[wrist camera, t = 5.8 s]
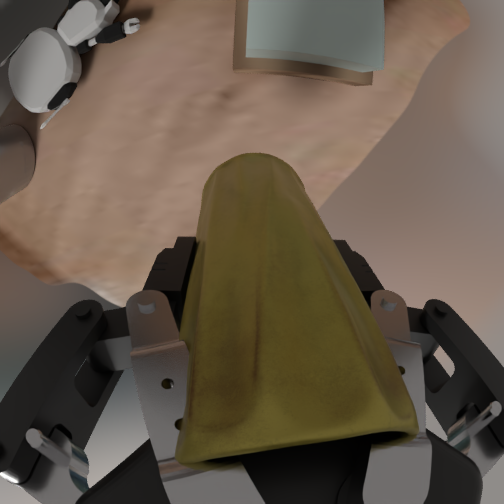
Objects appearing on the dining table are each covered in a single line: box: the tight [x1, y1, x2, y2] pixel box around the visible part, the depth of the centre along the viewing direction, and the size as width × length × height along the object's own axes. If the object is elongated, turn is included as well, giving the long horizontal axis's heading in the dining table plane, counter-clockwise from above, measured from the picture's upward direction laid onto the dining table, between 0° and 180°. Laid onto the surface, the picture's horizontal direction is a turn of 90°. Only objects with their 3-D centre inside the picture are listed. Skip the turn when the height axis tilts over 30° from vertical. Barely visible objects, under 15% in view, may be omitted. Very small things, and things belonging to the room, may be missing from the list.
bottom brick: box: [233, 0, 373, 86], centre depth 17 cm, size 12×12×4 cm
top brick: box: [246, 0, 384, 72], centre depth 14 cm, size 10×10×4 cm
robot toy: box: [0, 0, 140, 129], centre depth 17 cm, size 12×4×15 cm
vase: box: [175, 153, 420, 463], centre depth 10 cm, size 6×6×14 cm
